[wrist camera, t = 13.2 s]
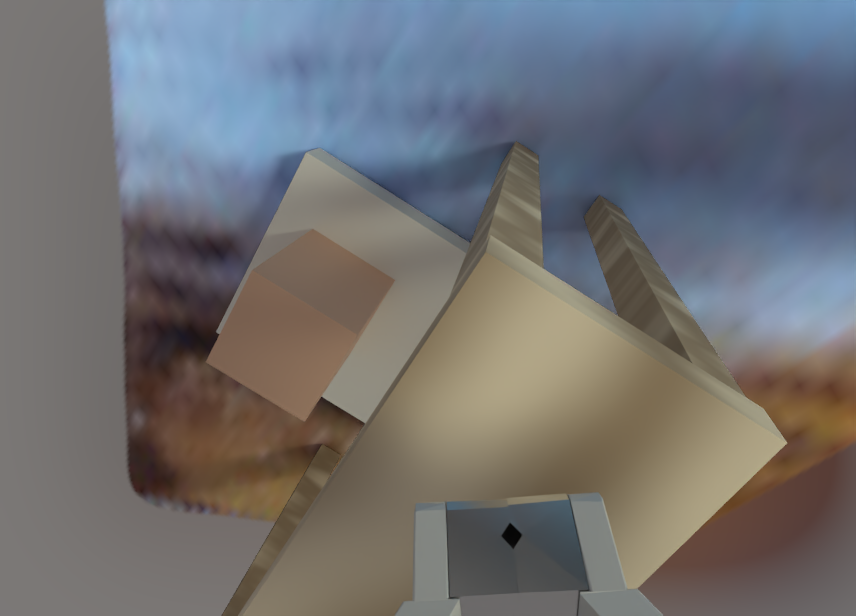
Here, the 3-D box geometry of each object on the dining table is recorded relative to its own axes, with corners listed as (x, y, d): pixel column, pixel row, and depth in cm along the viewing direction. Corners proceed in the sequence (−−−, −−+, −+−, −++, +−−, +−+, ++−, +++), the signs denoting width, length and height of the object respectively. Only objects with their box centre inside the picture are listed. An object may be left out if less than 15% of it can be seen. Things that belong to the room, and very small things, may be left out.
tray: (737, 412, 41) (749, 432, 39) (606, 548, 46) (609, 572, 44) (319, 147, 40) (306, 151, 37) (232, 318, 45) (215, 332, 43)
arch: (623, 206, 38) (786, 443, 13) (396, 511, 48) (253, 960, 24) (517, 138, 38) (485, 251, 13) (311, 460, 48) (77, 863, 23)
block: (395, 280, 39) (357, 334, 31) (350, 352, 41) (304, 421, 33) (312, 228, 39) (252, 269, 31) (272, 304, 41) (205, 361, 33)
